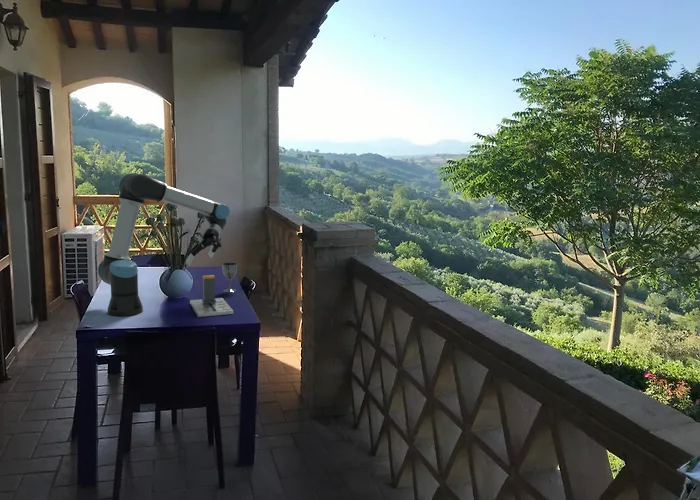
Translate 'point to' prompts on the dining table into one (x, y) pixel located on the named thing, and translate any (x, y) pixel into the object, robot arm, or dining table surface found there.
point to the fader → (209, 289)
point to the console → (211, 308)
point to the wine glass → (229, 273)
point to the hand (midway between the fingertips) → (198, 260)
